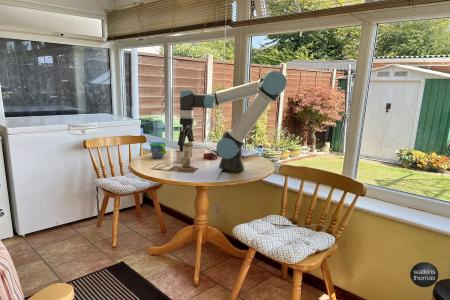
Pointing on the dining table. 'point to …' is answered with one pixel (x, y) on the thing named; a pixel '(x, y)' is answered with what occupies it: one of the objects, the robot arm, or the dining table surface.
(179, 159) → the teacup with lid
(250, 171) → the dining table surface
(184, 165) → the carved statue
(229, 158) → the robot arm
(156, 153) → the snack cup
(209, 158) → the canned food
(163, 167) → the board
